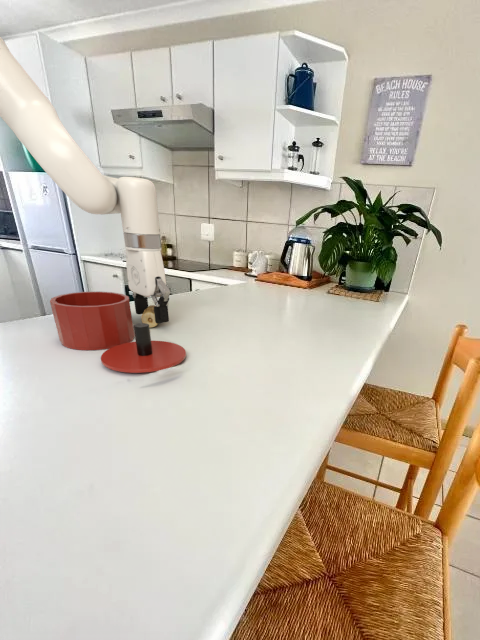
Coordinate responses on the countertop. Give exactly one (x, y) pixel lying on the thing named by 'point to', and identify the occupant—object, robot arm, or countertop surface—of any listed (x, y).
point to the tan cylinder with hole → (149, 316)
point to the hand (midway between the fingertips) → (152, 317)
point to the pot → (92, 320)
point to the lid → (143, 353)
